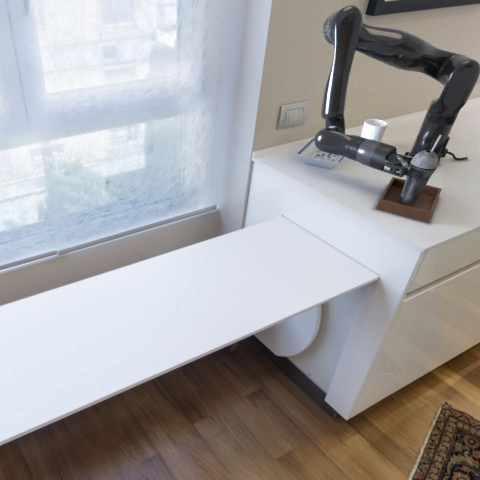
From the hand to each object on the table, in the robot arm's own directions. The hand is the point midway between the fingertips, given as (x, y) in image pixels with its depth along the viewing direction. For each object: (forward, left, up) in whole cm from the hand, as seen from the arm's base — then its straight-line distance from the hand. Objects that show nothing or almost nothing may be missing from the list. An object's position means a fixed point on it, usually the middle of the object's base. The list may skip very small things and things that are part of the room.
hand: (428, 172), depth 127 cm
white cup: (-6, -43, -11) cm, 45 cm away
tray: (+1, -2, -11) cm, 11 cm away
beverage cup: (+1, -2, -10) cm, 10 cm away
